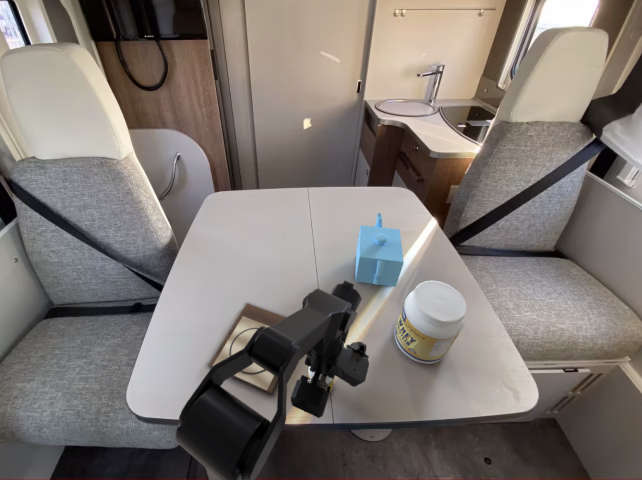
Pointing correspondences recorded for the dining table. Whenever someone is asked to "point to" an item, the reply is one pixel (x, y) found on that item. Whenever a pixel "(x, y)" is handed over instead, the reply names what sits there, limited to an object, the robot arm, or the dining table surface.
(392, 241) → the teapot
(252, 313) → the drawing board
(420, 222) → the dining table surface
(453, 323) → the supplement tub
